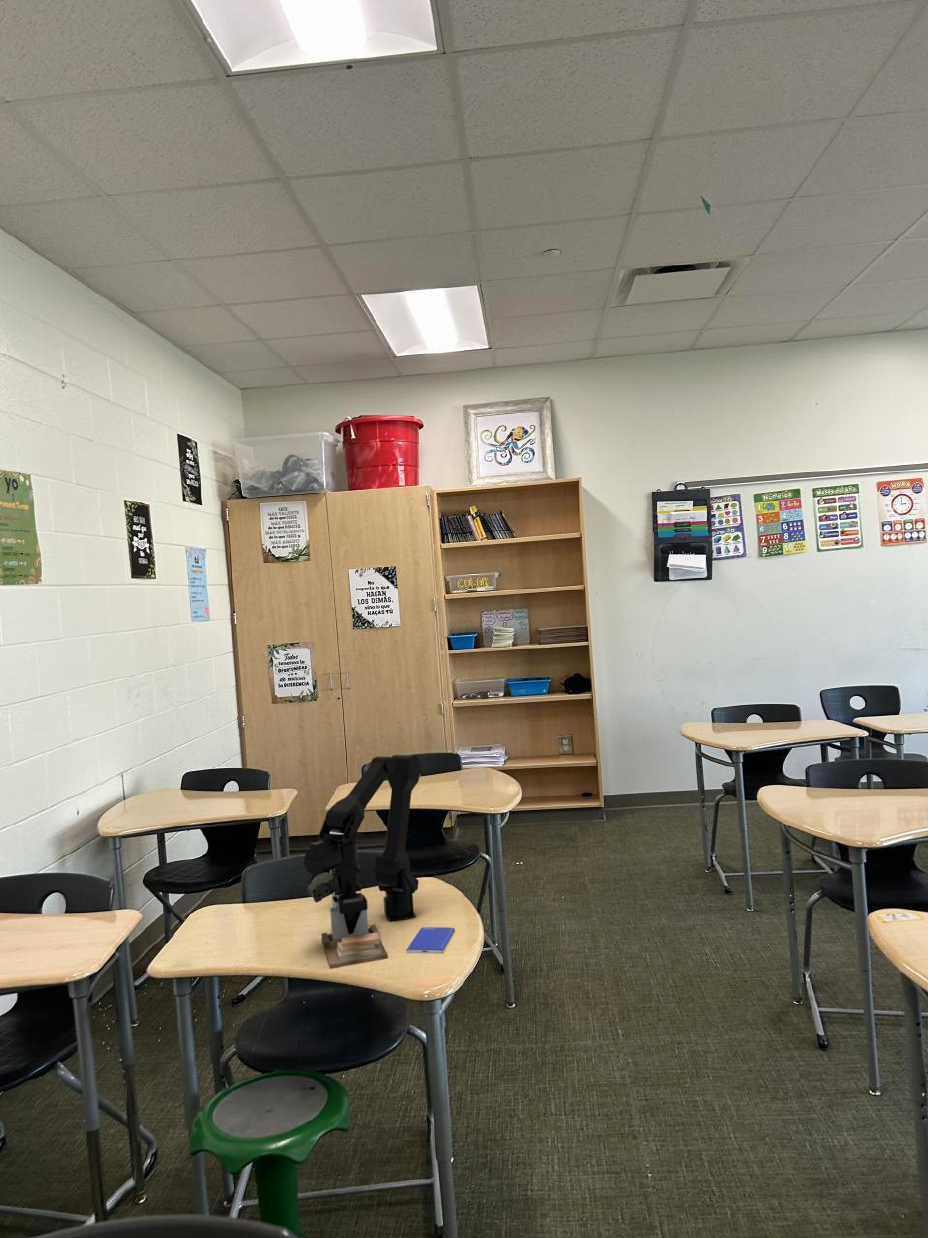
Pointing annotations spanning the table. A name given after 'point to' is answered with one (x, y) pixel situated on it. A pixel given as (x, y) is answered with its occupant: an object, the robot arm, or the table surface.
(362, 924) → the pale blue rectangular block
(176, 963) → the table surface
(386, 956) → the rack
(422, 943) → the hard drive
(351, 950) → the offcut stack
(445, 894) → the table surface
